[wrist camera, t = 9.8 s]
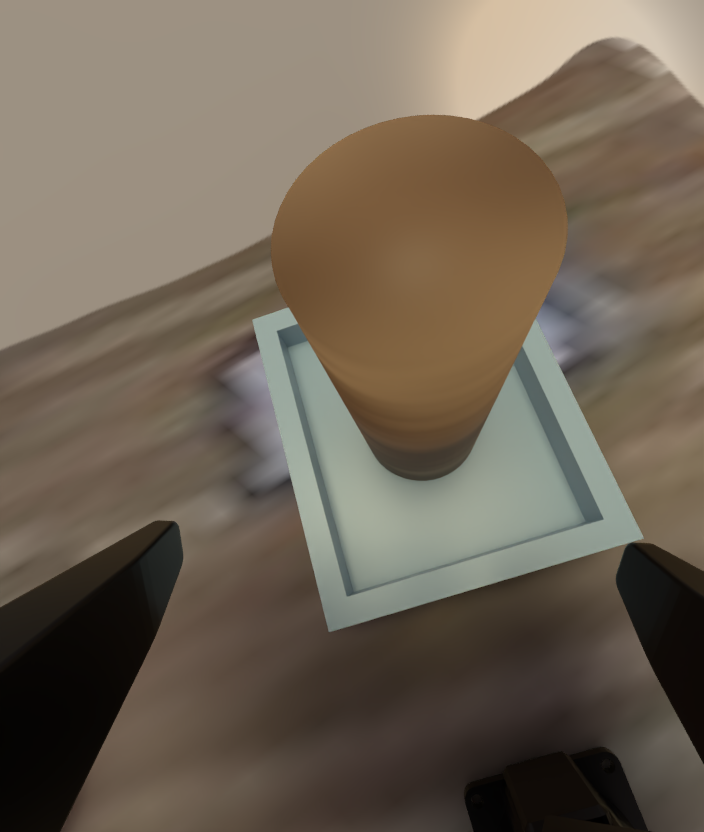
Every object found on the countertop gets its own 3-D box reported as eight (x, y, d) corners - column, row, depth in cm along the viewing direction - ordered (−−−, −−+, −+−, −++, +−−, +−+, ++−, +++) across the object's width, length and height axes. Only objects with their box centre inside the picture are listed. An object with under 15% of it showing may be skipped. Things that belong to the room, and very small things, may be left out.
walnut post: (500, 438, 19) (639, 239, 7) (407, 503, 19) (373, 423, 6) (431, 355, 21) (440, 73, 8) (345, 415, 20) (224, 217, 8)
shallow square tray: (589, 539, 20) (644, 538, 15) (349, 611, 21) (328, 632, 16) (479, 298, 25) (495, 236, 20) (284, 363, 25) (252, 319, 20)
